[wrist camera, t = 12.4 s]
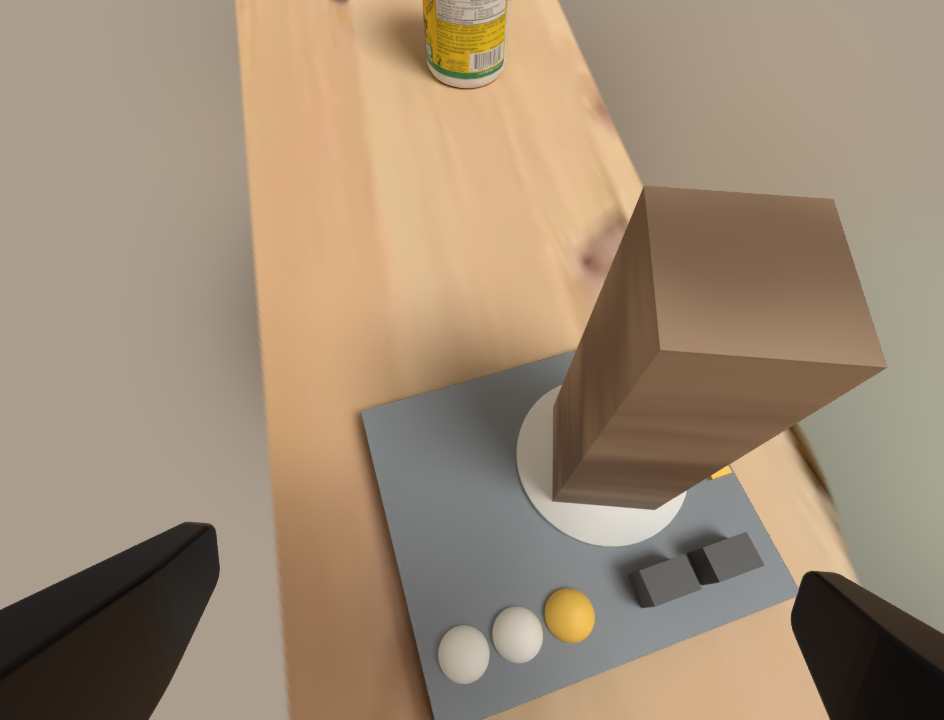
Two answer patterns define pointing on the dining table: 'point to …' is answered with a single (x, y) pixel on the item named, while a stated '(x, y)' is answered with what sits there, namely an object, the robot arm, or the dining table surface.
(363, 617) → the dining table surface
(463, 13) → the supplement bottle
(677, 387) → the post
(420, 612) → the panel
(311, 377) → the dining table surface
